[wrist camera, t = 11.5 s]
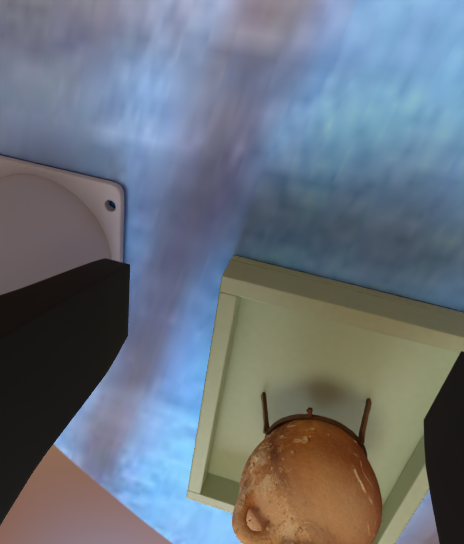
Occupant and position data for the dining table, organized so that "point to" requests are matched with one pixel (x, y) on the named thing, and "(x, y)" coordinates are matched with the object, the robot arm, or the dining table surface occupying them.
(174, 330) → the dining table surface
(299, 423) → the pot
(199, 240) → the dining table surface
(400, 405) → the tray
